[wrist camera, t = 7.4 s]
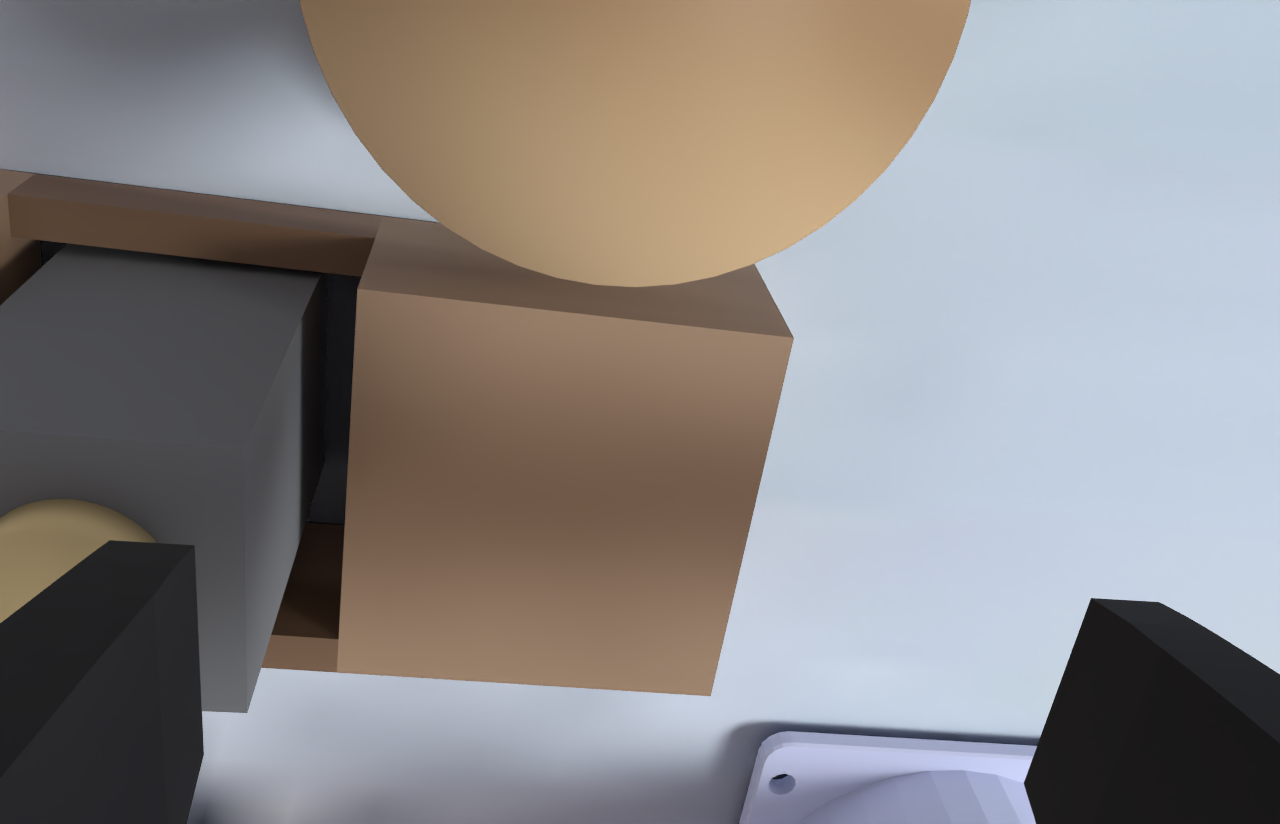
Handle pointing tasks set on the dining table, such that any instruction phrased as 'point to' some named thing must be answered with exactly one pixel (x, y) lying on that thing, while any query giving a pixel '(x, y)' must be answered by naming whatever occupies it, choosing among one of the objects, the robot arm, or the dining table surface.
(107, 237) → the block with rectangular opening
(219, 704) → the grey rectangular block
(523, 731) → the dining table surface
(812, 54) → the spool
